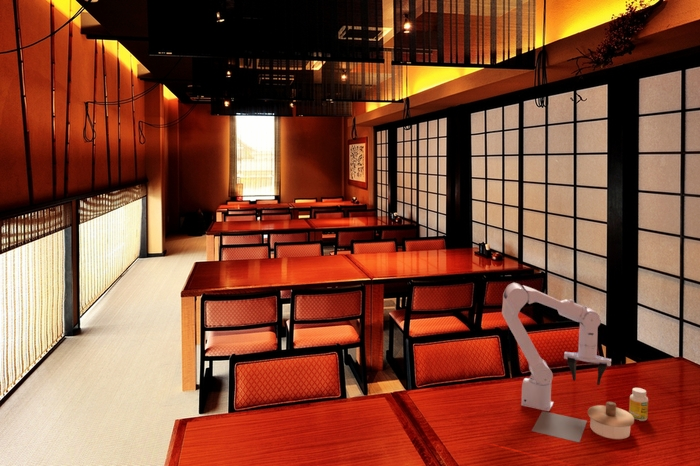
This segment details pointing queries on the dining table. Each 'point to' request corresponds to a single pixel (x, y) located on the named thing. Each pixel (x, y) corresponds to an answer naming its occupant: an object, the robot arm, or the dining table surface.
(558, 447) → the dining table surface
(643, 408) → the supplement bottle
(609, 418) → the lid
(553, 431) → the mat
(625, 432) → the bowl
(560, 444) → the dining table surface
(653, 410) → the dining table surface
